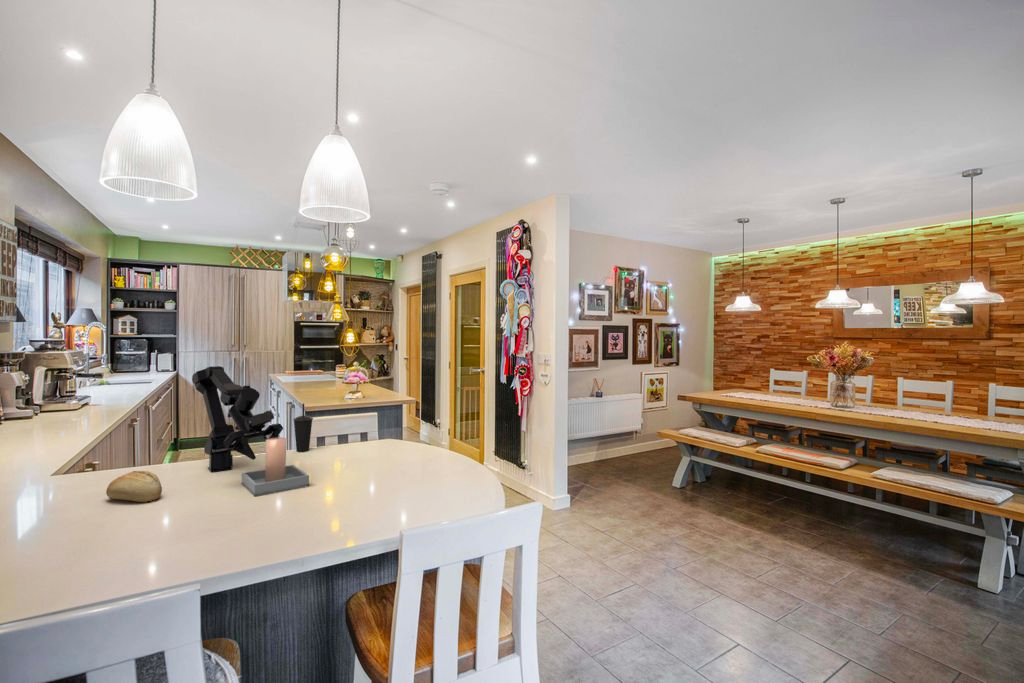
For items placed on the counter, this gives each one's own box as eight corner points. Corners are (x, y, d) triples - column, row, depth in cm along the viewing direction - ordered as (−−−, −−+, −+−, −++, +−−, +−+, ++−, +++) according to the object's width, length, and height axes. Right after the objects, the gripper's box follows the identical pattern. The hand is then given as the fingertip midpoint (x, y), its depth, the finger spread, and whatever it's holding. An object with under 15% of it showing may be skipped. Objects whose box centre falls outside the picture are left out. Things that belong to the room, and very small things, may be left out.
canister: (263, 485, 151) (264, 441, 151) (266, 480, 156) (267, 437, 157) (283, 484, 152) (284, 440, 153) (286, 479, 158) (287, 437, 158)
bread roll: (125, 493, 144) (125, 467, 144) (172, 495, 143) (172, 468, 143) (95, 504, 135) (95, 476, 134) (145, 506, 134) (146, 478, 134)
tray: (254, 496, 143) (254, 485, 143) (241, 483, 155) (241, 473, 155) (308, 486, 154) (309, 475, 154) (293, 474, 166) (293, 464, 166)
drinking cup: (288, 452, 197) (289, 404, 197) (301, 448, 204) (302, 401, 204) (303, 453, 195) (304, 405, 195) (316, 449, 202) (317, 402, 202)
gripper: (230, 407, 149) (254, 446, 145) (280, 400, 166) (302, 435, 162) (213, 429, 152) (236, 468, 148) (263, 420, 170) (285, 455, 165)
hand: (267, 455), depth 156 cm, fingers open, 9 cm apart
